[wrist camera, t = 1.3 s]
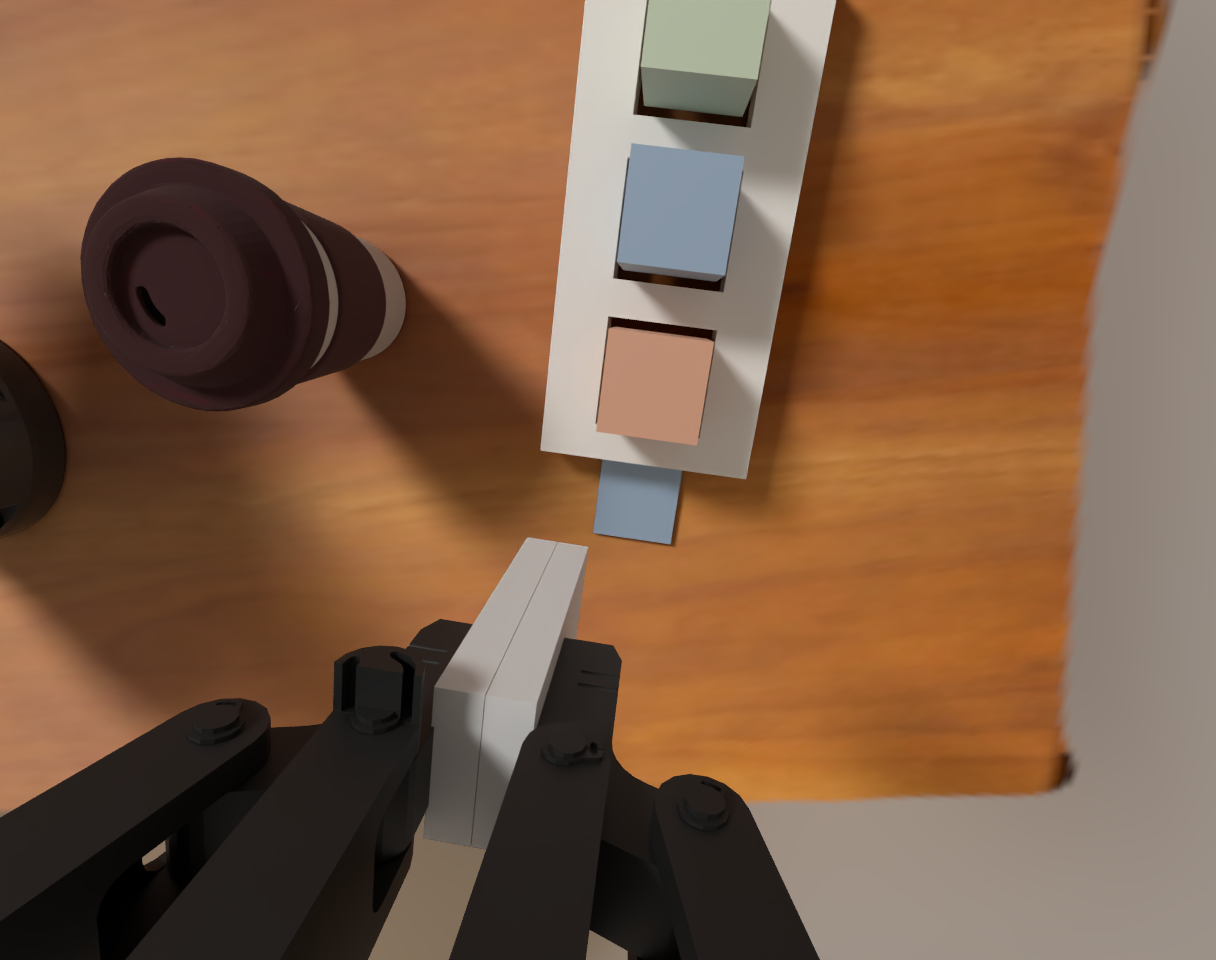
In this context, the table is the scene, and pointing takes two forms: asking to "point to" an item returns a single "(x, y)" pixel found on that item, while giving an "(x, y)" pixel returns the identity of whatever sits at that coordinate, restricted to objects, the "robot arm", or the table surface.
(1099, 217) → the table surface
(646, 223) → the button slate
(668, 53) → the button sage
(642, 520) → the swatch
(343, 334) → the coffee cup
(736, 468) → the button board
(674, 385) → the button terracotta
